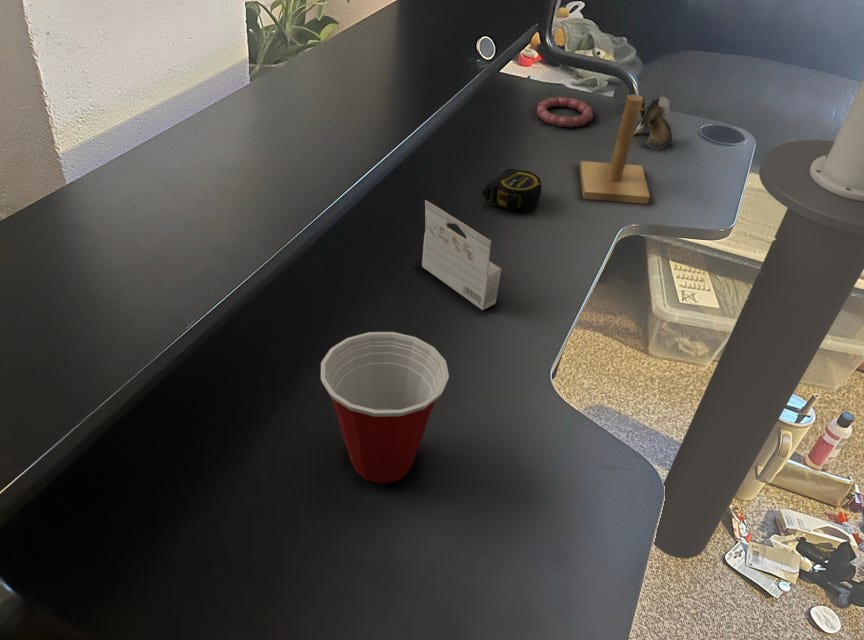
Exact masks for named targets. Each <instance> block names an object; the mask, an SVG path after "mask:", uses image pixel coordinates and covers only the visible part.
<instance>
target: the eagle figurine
mask: <svg viewBox="0 0 864 640" xmlns="http://www.w3.org/2000/svg"><path fill="white" fill-rule="evenodd" d="M642 98H643V100H642V103H641V107H640V111H639V114H640V117H641V120H640V123H639V124H638V125H637V127H635V130H634V134H633V135H637V134H640V133H642V132H643V130H644V129H645V128H647V127H649V128H650V132H649V136H648V137H647V140H646V143H645V145H646V146H648V147H649V148H650V149H652V150H654V151H655V150H657V151H659V150H660V149H661V150H663V149H664V148H668V146H670V145H671V142H672V139H673V137H672V136H673V135H672V134H673V133H672V129H671V126H670V124H669V123H668V121H667V120H666V119H665V117H664V116H668V115H669V113H670V107H671V106H670V105H671V104H670V100H669V99H668V98H667V97H665V96H660V97H659V98H658V97H657V98H656V99H652V100H651V102H650V103H649V105H647V106H646V100H645V97H642Z"/></svg>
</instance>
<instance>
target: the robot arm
mask: <svg viewBox="0 0 864 640" xmlns="http://www.w3.org/2000/svg"><path fill="white" fill-rule="evenodd" d="M834 141H835V142H834V144H833V146H832V148H831V150H830V152H829V155H825V156H822V157H819V158H817V159H815V160H814V161H813V163H812V165H811V167H810V170H809V171H810V175H811V177H812V179H813V180H814V181H815V182H816V183H817V184H818V185H820V186H821V187H823V188H824V189H826V190H828V191H830V192H832V193H834V194H837V195H839V196H842V197H845V198H849V199H852V200H857V201H863V202H864V79H862V81H861V84H860V86H859V88H858V90H857V92H856V94H855V97H854V99H853V101H852V104H851V105H850V107H849V110H848V112H847V114H846V115H845V118H844V120H843V123H842V125H841V126H840V129H839V131H838V133H837V135H836V138H835V139H834Z"/></svg>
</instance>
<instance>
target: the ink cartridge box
mask: <svg viewBox="0 0 864 640" xmlns="http://www.w3.org/2000/svg"><path fill="white" fill-rule="evenodd" d="M424 206H425V207H424V211H425V212H424V217H425V220H424V222H425V228H424V229H425V230H424V231H425V232H424V234H423V235H424V236H423V246H422V255H421V256H422V259H421V267H422V268H423V269H424V270H426V271H427V272H429V273H430V274H431V275H433V276H434V277H435V278H437V279H438V280H440V281H441V282H443V283H444V284H445V285H447V287H449V288H451V289H452V290H454V291H455V292H456V293H458V294H459V295H461V296H462V297H463V298H465V299H466V300H468V301H469V302H470V303H471V304H473V305H474V306H476V307H477V308H478V309H480V310H481V311H484V310H486V309H488V308H490V307H492V306H494V305H496V303H497V297H498V291H499V286H500V279H501V274H502V268H501V267H499V266H498V265H496V264H494V263H493V262H492V261H490V260H491V252H492V240H491V239H489V238H488V237H486V236H484V235H483V234H481V233H480V232H478V231H476V230H475V229H474V228H472V227H470V226H469V225H467V224H466V223H464V222H462V221H460V220H459V219H458V218H456V217H454V216H453V215H451V214H449V213H448V212H446V211H445V210H443V209H441V208H440V207H438V206H437V205H435V204H433V203H432V202H430V201H428V200H427V199H425V200H424ZM449 224H450V225H451V224H452V225H456V226H457V227H458V228H459V229H460V230H461V232H463V234H464V235H465V237H464V236H462V235H461V234H459V233H457V232H456V231H455V230H453V229H451V228H450V227H449Z"/></svg>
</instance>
